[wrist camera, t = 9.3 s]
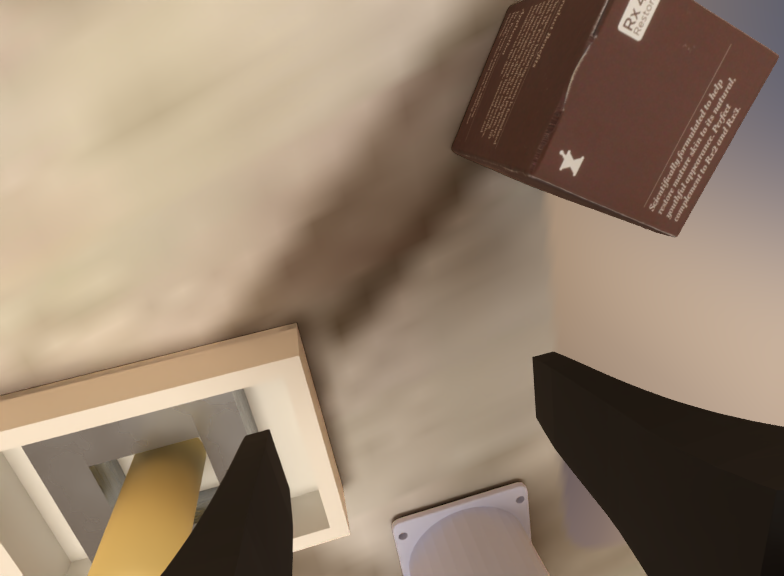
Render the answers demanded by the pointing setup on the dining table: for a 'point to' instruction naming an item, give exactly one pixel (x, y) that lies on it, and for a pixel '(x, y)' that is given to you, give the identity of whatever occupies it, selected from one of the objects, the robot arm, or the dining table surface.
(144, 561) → the peg
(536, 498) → the dining table surface
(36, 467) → the socket plate
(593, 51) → the box
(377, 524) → the dining table surface
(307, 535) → the tray
